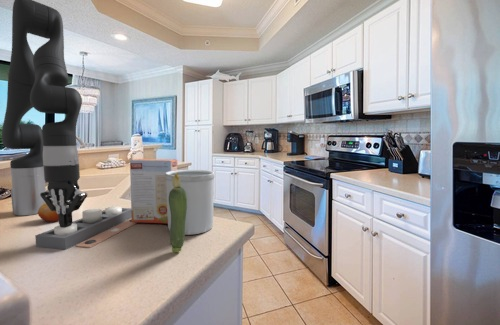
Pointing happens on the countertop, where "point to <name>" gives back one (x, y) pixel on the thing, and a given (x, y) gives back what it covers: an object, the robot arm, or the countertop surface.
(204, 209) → the utensil holder
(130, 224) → the pattern card
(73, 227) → the button
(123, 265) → the countertop surface
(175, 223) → the vegetable
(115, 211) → the button
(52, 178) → the robot arm
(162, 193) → the cracker box
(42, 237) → the button board
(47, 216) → the fruit
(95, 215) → the middle button
